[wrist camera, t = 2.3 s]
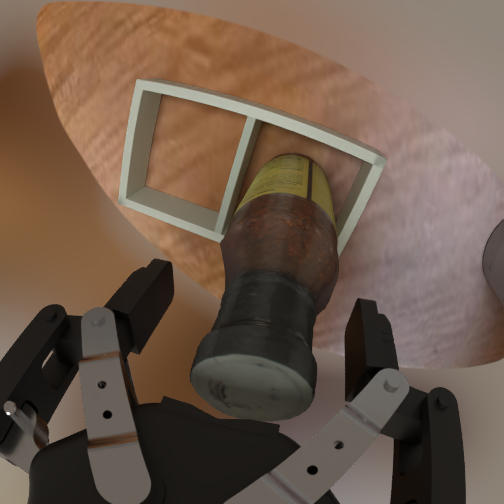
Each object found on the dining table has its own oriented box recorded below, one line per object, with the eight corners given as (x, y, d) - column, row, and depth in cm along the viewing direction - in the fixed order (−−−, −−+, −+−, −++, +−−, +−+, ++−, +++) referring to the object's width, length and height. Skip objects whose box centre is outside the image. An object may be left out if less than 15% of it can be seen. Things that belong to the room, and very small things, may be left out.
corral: (378, 150, 22) (387, 159, 19) (325, 261, 28) (324, 282, 25) (157, 78, 22) (136, 79, 20) (137, 190, 29) (118, 203, 26)
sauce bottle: (245, 195, 27) (124, 379, 10) (280, 136, 23) (165, 270, 7) (307, 233, 27) (271, 448, 10) (347, 178, 24) (385, 386, 7)
